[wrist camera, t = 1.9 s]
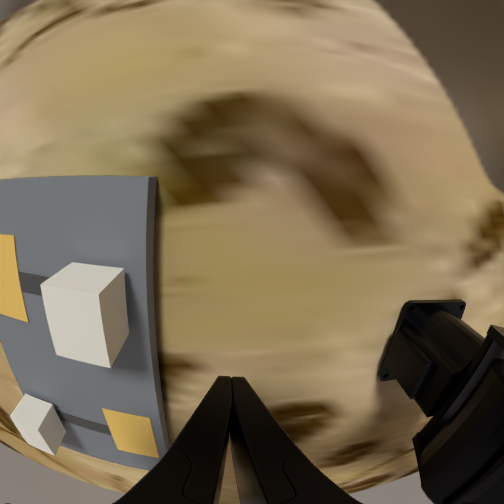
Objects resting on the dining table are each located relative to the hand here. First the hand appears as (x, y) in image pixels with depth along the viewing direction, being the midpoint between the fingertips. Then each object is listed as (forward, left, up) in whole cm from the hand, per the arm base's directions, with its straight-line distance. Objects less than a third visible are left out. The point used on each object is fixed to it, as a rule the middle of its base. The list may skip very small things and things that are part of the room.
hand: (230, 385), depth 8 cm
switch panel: (+11, +6, -7) cm, 14 cm away
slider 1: (+15, +12, -5) cm, 20 cm away
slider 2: (+7, 0, -5) cm, 8 cm away
